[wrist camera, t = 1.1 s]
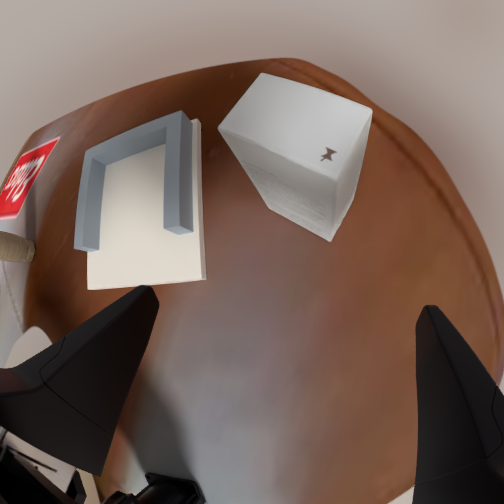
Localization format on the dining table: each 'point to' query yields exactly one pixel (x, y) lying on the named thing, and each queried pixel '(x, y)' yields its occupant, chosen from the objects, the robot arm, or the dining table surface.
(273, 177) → the skincare box
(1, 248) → the handle
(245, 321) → the dining table surface
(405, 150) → the dining table surface
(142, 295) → the robot arm
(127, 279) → the stop cradle
